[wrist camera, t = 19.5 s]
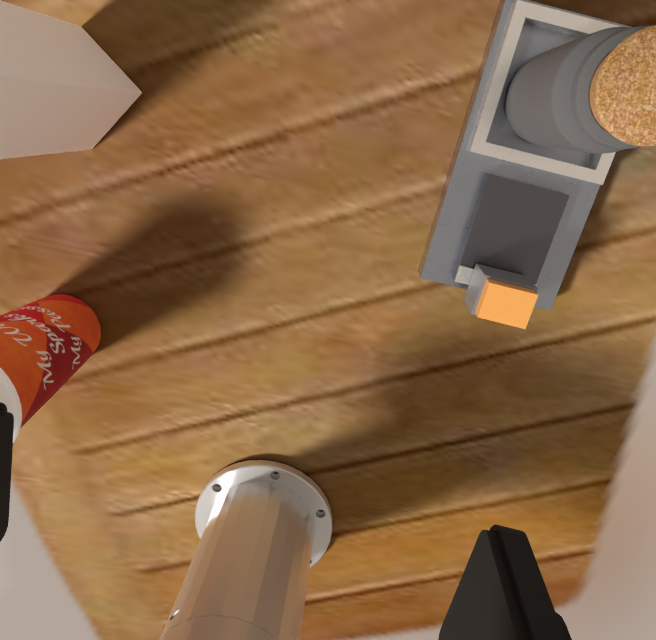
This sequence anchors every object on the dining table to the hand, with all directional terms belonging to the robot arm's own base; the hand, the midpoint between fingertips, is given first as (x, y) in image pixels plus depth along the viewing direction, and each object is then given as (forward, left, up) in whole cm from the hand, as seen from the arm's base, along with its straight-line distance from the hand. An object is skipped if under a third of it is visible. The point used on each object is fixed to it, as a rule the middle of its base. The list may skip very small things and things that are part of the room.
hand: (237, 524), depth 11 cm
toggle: (-1, -12, -31) cm, 33 cm away
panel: (+8, -12, -34) cm, 37 cm away
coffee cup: (-14, +20, -34) cm, 42 cm away
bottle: (+12, -12, -32) cm, 37 cm away
